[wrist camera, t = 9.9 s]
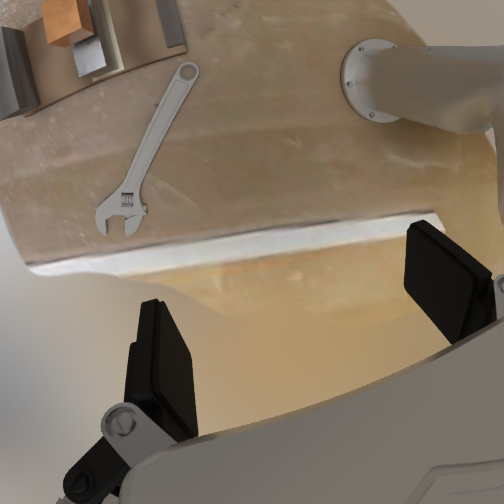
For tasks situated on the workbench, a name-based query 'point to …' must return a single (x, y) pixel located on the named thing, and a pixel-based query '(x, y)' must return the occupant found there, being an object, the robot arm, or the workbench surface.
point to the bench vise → (62, 59)
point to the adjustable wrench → (145, 158)
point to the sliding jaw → (81, 34)
